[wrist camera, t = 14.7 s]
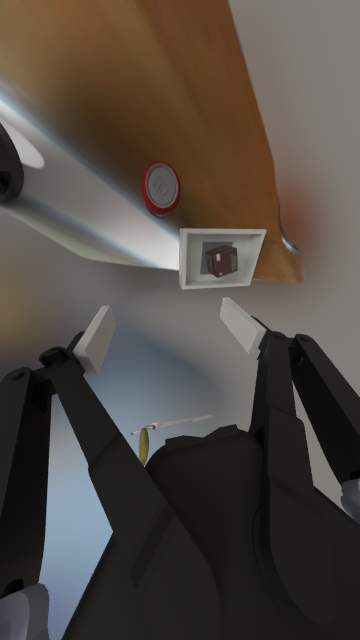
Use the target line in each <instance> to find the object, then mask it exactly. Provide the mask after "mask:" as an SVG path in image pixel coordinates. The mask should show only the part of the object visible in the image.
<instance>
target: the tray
mask: <svg viewBox="0 0 360 640" xmlns="http://www.w3.org/2000/svg"><path fill="white" fill-rule="evenodd" d="M266 230H267V229H196V228H180V245H179V285H180V286H181V288H182V289H201V288H219V287H235V286H236V287H237V286H249V285H250V283H251V280H252V276H253V273H254V270H255V266H256V263H257V260H258V256H259V253H260V250H261V246H262V243H263V240H264V236H265V233H266ZM223 245H226V246H230V247H235V248H237V263H238V271H236V272H233V273H230V274H227V275H224V276H221V277H219V278H217V277H215V276H214V275H213V274H211V273H210V272H208V267H207V261H206V254H205V252H206V251H209V250H212V249H215V248H218V247H220V246H223Z"/></svg>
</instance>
